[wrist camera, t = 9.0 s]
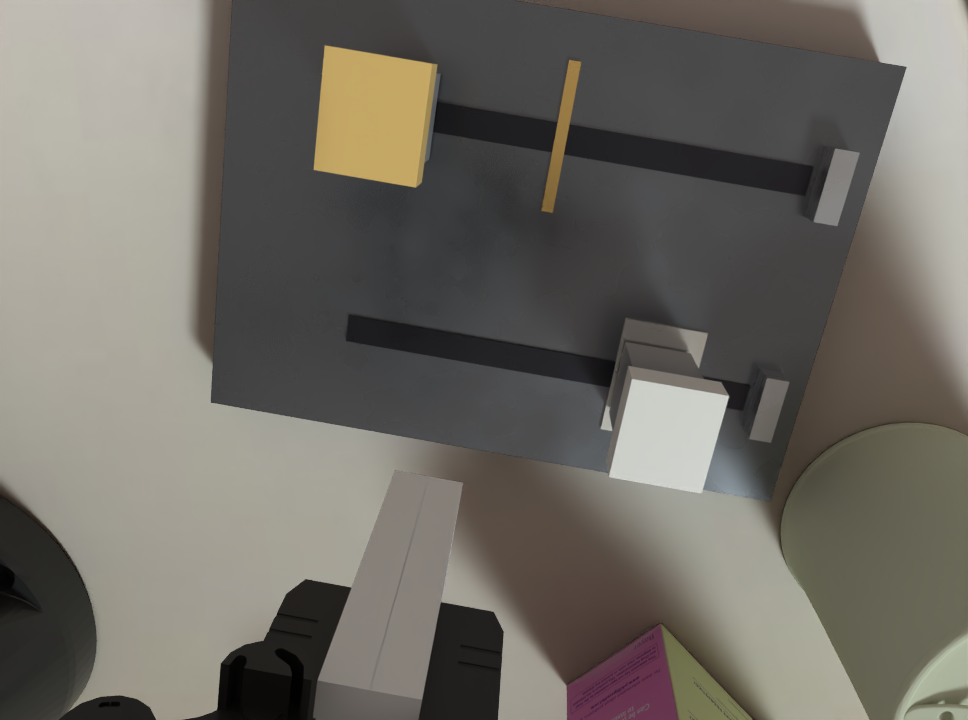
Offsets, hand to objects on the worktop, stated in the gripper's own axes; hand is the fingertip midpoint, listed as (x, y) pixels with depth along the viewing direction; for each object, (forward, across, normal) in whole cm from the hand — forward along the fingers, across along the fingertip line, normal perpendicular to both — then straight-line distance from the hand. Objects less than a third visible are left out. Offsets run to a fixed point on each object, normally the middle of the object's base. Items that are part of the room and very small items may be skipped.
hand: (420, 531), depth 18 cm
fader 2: (+13, +7, 0) cm, 15 cm away
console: (+15, +1, +4) cm, 16 cm away
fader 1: (+13, -4, +8) cm, 16 cm away
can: (+15, +18, -5) cm, 25 cm away
